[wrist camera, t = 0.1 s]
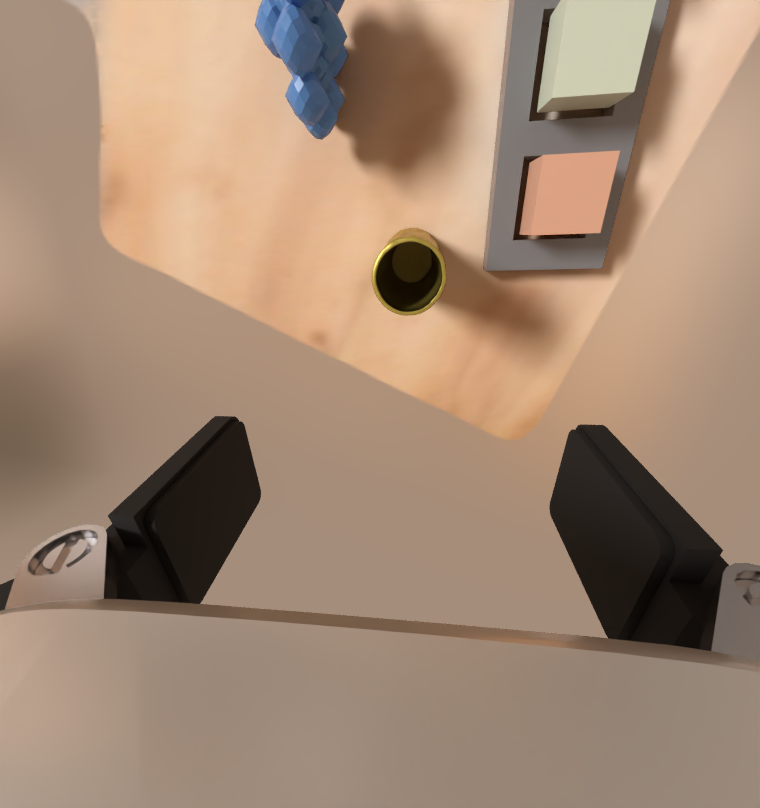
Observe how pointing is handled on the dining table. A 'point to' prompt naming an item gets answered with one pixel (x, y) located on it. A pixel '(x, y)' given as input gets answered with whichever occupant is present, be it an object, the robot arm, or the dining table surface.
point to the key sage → (593, 53)
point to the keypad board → (554, 146)
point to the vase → (409, 272)
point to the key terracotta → (568, 193)
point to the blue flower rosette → (308, 56)
